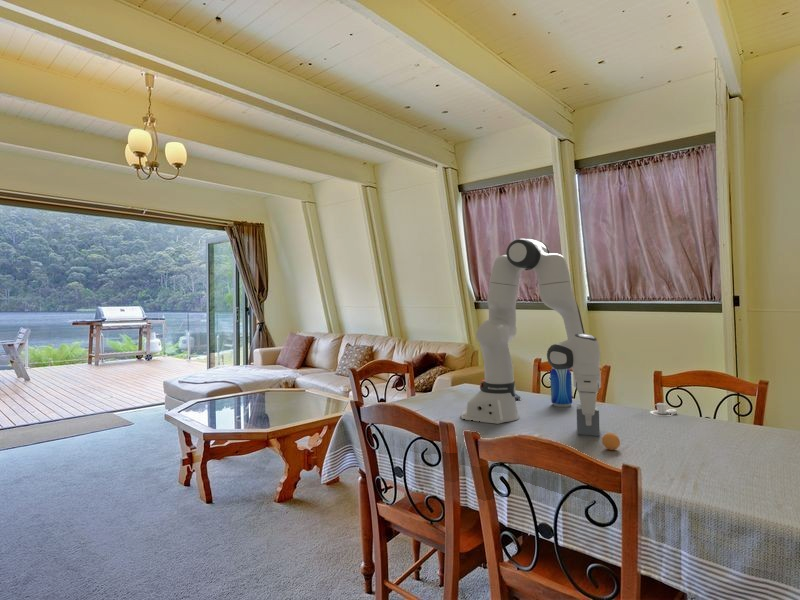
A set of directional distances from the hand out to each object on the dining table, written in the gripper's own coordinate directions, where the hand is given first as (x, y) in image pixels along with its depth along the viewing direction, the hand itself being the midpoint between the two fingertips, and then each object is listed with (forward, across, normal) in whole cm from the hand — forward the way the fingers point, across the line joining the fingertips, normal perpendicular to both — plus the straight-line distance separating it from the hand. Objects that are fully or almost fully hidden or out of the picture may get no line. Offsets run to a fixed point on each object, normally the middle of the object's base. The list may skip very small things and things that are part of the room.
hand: (588, 421), depth 158 cm
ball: (+1, +16, +6) cm, 17 cm away
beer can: (+4, -36, -10) cm, 38 cm away
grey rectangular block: (+4, 0, 0) cm, 4 cm away
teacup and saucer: (+4, -28, +28) cm, 40 cm away
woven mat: (+5, -44, -34) cm, 56 cm away
